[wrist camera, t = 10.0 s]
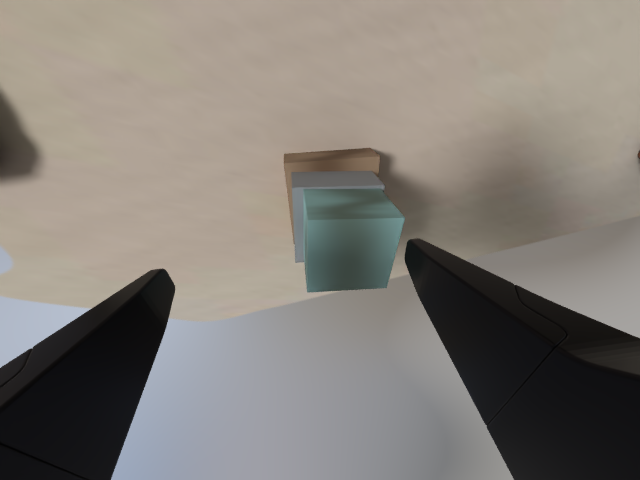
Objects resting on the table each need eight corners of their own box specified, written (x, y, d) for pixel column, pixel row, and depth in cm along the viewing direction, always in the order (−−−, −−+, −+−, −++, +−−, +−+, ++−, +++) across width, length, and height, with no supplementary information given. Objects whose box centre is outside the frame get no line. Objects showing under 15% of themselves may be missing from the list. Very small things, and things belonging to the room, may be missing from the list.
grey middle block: (371, 170, 18) (384, 185, 16) (362, 237, 21) (372, 258, 19) (291, 172, 17) (291, 187, 15) (294, 240, 21) (295, 262, 18)
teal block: (380, 188, 16) (404, 217, 12) (368, 250, 18) (386, 287, 15) (303, 189, 15) (307, 220, 12) (303, 252, 18) (307, 292, 15)
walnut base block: (368, 146, 20) (380, 156, 18) (363, 220, 24) (372, 236, 21) (284, 152, 19) (283, 163, 17) (293, 226, 23) (293, 244, 21)
